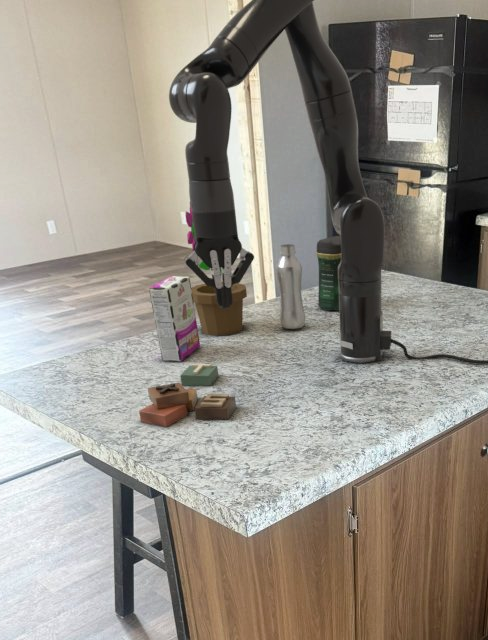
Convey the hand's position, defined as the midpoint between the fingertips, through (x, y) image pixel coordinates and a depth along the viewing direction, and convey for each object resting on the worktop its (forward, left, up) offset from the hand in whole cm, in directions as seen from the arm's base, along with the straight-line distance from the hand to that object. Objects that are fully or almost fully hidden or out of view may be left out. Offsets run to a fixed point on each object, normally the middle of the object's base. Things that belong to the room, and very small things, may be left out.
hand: (225, 307), depth 131 cm
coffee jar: (-11, -67, -17) cm, 70 cm away
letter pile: (+9, +10, -17) cm, 22 cm away
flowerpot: (+15, -44, -17) cm, 49 cm away
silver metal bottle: (-3, -46, -17) cm, 49 cm away
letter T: (+9, -7, -17) cm, 21 cm away
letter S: (+1, +10, -17) cm, 20 cm away
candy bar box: (+19, -24, -17) cm, 35 cm away
